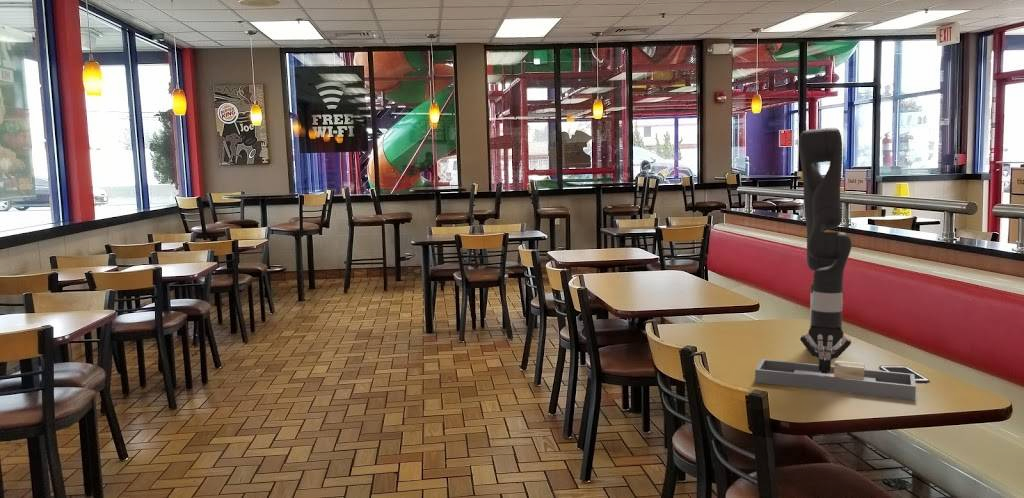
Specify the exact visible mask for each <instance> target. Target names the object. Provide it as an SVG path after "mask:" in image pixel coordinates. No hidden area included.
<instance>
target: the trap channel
mask: <svg viewBox="0 0 1024 498" xmlns="http://www.w3.org/2000/svg"><path fill="white" fill-rule="evenodd" d="M754 373H755V374H754V383H756V384H764V383H765V384H766V385H773V384H775V385H774V386H782V385H785V386H786V387H791V386H792V387H793V388H801V389H802V388H803V389H808V390H809V389H810V390H819V391H820V390H821V391H829V392H835V393H836V392H838V393H846V394H852V395H853V394H855V395H863V396H864V395H865V396H872V397H881V398H891V399H899V400H900V399H901V400H908V401H916V389H917V386H916V382H915V375H914V374H908V373H898V372H888V371H883V370H877V369H869V368H868V369H866V368H864V380H858V379H849V378H839V377H834V365H831V369H830V371H829V372H828V373H827V374H825V373H821V371H819V364H817V363H816V364H814V363H805V362H795V361H788V360H787V361H785V360H775V359H765V358H761V359H760V362H759V363H758V365H757V366H756V367H755V371H754ZM765 384H764V385H765ZM785 386H784V387H785ZM792 387H791V388H792Z"/></svg>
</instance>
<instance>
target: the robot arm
mask: <svg viewBox="0 0 1024 498" xmlns="http://www.w3.org/2000/svg"><path fill="white" fill-rule="evenodd" d="M799 134H800V135H799V137H798V153H799V159H800V165H801V171H802V181H803V182H802V183H803V206H804V216H805V224H806V225H805V226H806V263H807V267H808V268H809V269H810V270H811V271H813V277H812V279H813V282H812V283H811V285H810V303H809V305H810V307H809V329H808V332H807V333H805V334H804V335H803V334H802V335H801V337H800V338H799V339H800V341H801V343H802V344H803V346H804V347H805V348H806V349H807V350H808V352H809V354H810V355H811V356H812V357H815V358H818V365H819V371H821V373H825V374H827V373H828V372H829V371H830V369H831V366H832V365H831V363H832V360H834V359H838V358H839V357H840V356H841V355H842V354H843V353H844V352H845V351H846V350H847V348H849V346H851V344H852V340H851V339H850V338H847V337H846V336H845V335H844V331H843V329H842V328H843V326H842V323H843V304H844V303H843V291H844V288H843V286H844V285H843V284H844V271H845V267H846V265H847V261H848V259H849V256H850V253H851V250H852V245H853V243H852V240H851V237H850V235H849V234H847V233H845V232H841V231H839V232H838V231H835V232H834V231H833V232H830V230H833V229H837V228H838V227H839V226H840V225H841V224H842V220H843V218H842V215H843V214H842V206H841V205H842V203H841V183H842V169H843V140H842V139H843V138H842V134H841V131H840V130H839V129H838V128H836V127H828V128H827V127H826V128H825V127H824V128H817V129H807V130H803V131H802V132H801V133H799ZM826 162H829V167H828V169H827V171H826V173H825V175H824V176H823V174H821V173H820V172H819V170H818V169H817V168H816V165H815V163H826ZM828 230H829V231H828ZM827 231H828V232H827ZM825 351H826V352H825ZM833 351H834V352H833Z"/></svg>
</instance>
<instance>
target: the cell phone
mask: <svg viewBox="0 0 1024 498" xmlns="http://www.w3.org/2000/svg"><path fill="white" fill-rule="evenodd" d="M878 369H879V370H880V371H888V372H898V373H908V374H914V375H915V383H917V384H918V383H919V384H920V383H922V384H923V383H924V384H925V383H926V382H929V383H930V379H928V378H927V377H926V376H924V375H922V374H920V373H919V372H917V371H915V370H913V369H912V368H910V367H908V366H906V365H879V367H878Z"/></svg>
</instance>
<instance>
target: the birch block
mask: <svg viewBox="0 0 1024 498" xmlns="http://www.w3.org/2000/svg"><path fill="white" fill-rule="evenodd" d="M865 365H866V363H864V362H855V361H853V362H852V361H844V360H835V362H834V365H833V366H834V377H839V378H849V379H858V380H864V369H865V367H866V366H865Z"/></svg>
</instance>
